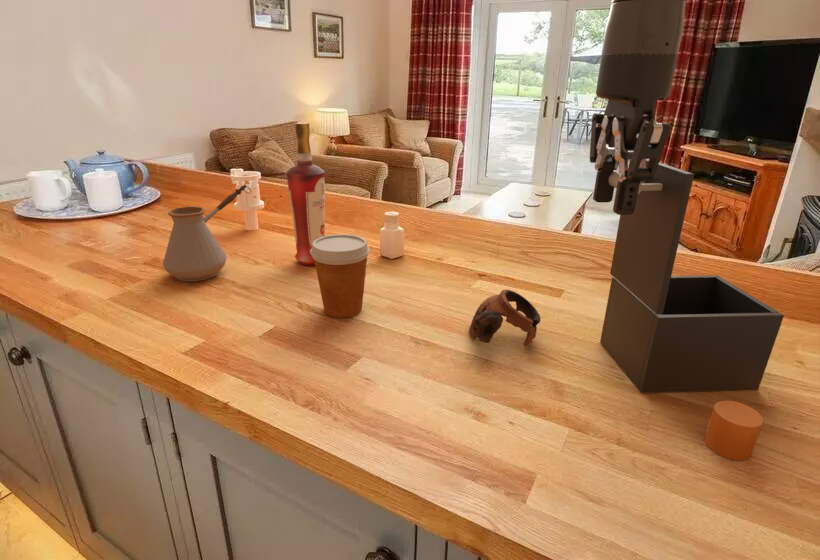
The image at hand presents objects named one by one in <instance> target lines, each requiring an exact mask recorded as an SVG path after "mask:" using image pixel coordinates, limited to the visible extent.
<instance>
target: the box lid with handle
mask: <svg viewBox="0 0 820 560" xmlns="http://www.w3.org/2000/svg"><path fill="white" fill-rule="evenodd" d="M630 162H631V161H628V169H629V165H630ZM648 162H649V159H646V163H645V168H647V165H648ZM613 172H614V173H612V174H611V175H610V177H609V184H610V185H611V186H613V187H614V189H617V184H618V181H619V171H613ZM694 176H695V173H692V172H690V171H687V170H685V169H680V168H677V167H675V166H671V165H668V164H665V163H662V162H659V164H658V167H657V170H656V173H655V176H654V178H653V179H646V180H644V181H643V182H640V185H639V190H638V195H637V200H636V205H635V210H634V212H633V213H632V214H630V215H619V218H618V219H619V220H618V227H617V232H616V236H615V237H616V238H615V243H614V248H613V255H612V262H611V266H610V272H609V274H610V275H611V277H615V278H616V279H617V280H618V281H619V282H620V283H621V284H623V285H624V286H625V287H626V288H627V289H628V290H629V291H631V292H632V293H633V294H634V295H635V296H636V297H637V298H639V299H640V300H641V301H642V302H643V303H644V304H645V305H647V306H648V307H649V308H650V309H651V310H652V311H653V312H655V313H656V314H663V310H664V306H665V301H666V297H667V293H668V288H669V284H670V279H671V276H673V270H674V265H675V262H676V258H677V257H676V256H677V253H678V248H679V244H680V239H681V235H682V231H683V226H684V222H685V221H684V220H685V216H686V213H687V208H688V203H689V198H690V195H691V190H692V185H693V181H694Z"/></svg>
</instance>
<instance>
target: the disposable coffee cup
mask: <svg viewBox="0 0 820 560" xmlns="http://www.w3.org/2000/svg"><path fill="white" fill-rule="evenodd" d="M370 250H371V248H370V246H369V245H368V241H367V240H366V238H364V237H362V236H359V235H355V234H347V233H344V234H343V233H341V234H340V233H337V234H329V235H325V236H324V237H321V238H318V239H316V240H315V241H314V242H313V245H312V248H311V250H310V254H311V255H312V257H313V259H314V262H315V265H314V266H315V272H316V276H317V281H318V287H319V291H320V296H321V301H322V306H323V311H324V313H325V315H327V316H329V317H332V318H338V319H345V318H352V317H354V316H357V315H359V314H360V313H361V312H362V310H363V301H364V293H365V291H364V290H365V282H366V272H367V262H368V257H369V253H370Z"/></svg>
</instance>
